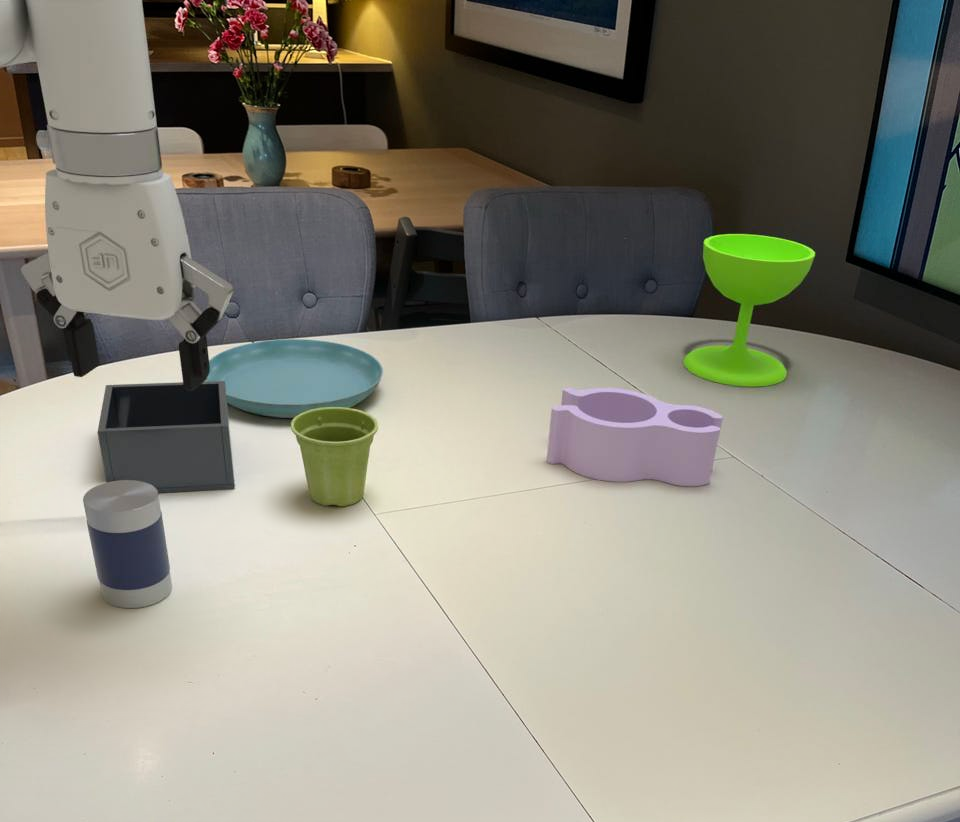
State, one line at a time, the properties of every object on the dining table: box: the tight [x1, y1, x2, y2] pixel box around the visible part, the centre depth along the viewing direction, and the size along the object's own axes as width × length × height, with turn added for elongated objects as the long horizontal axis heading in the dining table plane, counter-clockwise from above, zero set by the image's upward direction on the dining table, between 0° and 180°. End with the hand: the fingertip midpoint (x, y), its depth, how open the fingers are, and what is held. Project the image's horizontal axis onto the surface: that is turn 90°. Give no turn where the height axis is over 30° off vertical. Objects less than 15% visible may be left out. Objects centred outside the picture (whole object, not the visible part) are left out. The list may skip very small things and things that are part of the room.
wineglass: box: [682, 233, 816, 388], centre depth 149 cm, size 16×16×18 cm
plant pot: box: [290, 407, 379, 507], centre depth 110 cm, size 9×9×9 cm
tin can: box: [82, 480, 173, 609], centre depth 91 cm, size 6×6×10 cm
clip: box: [546, 387, 724, 487], centre depth 121 cm, size 20×12×7 cm, turn 74°
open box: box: [97, 381, 236, 494], centre depth 114 cm, size 14×14×8 cm
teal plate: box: [205, 338, 384, 419], centre depth 136 cm, size 24×24×3 cm
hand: (141, 378), depth 83 cm, fingers open, 9 cm apart
